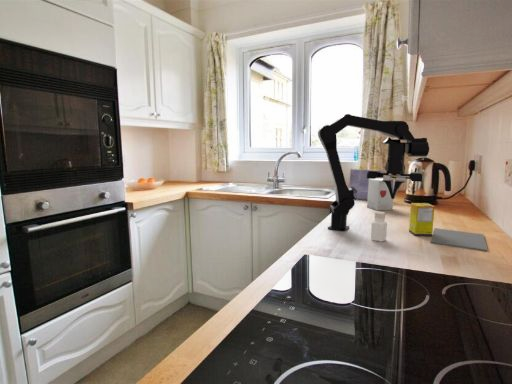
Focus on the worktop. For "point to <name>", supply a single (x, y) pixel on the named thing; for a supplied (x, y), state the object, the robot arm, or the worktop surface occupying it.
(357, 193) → the cake pan box
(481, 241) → the rubber mat
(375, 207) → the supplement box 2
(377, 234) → the pepper shaker
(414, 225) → the supplement box
